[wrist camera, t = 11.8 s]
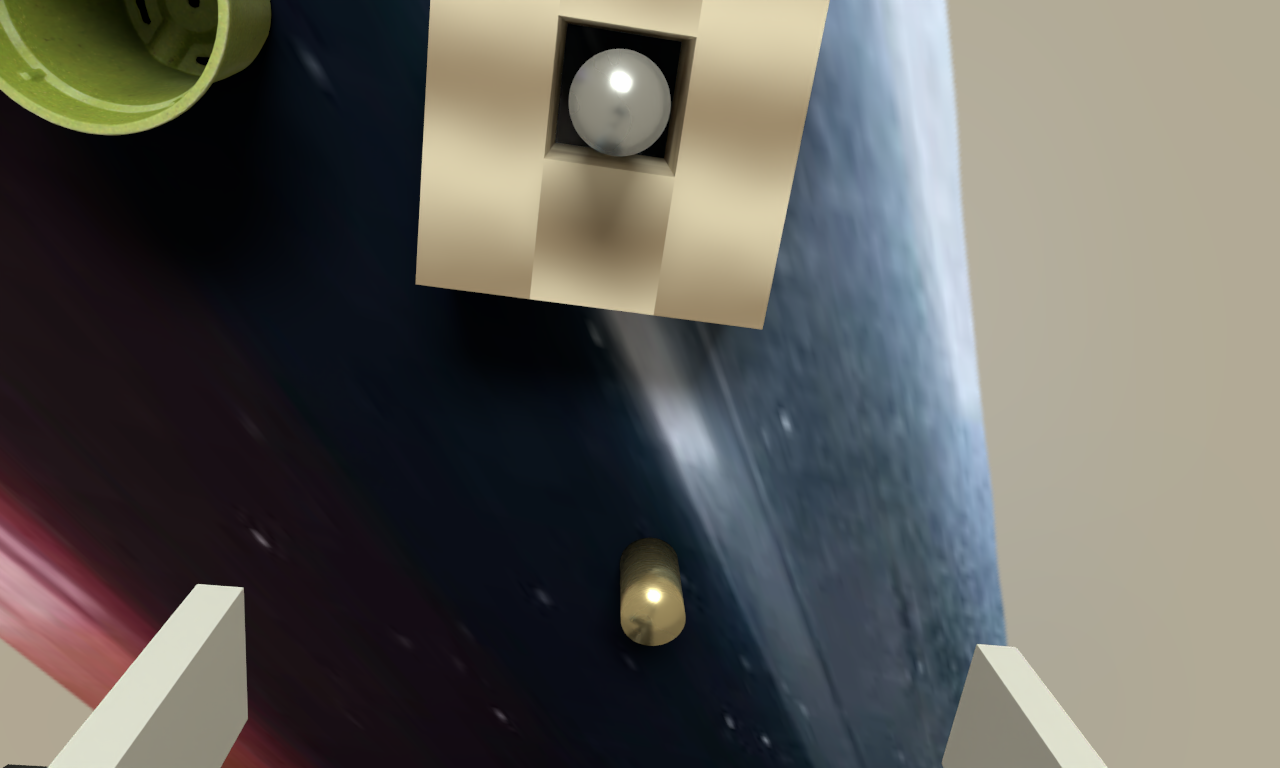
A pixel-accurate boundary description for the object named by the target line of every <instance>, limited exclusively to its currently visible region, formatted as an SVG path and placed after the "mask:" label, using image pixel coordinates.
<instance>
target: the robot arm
mask: <svg viewBox="0 0 1280 768" xmlns="http://www.w3.org/2000/svg"><path fill="white" fill-rule="evenodd" d="M247 719H248V711H247V679H246V647H245V616H244V588H242V587H229V586H216V585H203V584H197V585H196V586H195V588H194V589H193V590H192V591H191V592H190V594H189V595H188V596H187V597H186V599H185V600H184V601H183V602H182V603H181V605H180V606H179V607H178V608H177V610H176V611H175V612H174V613H173V615H172V616H171V617H170V618H169V619H168V621H167V622H166V623H165V624H164V626H163V627H162V628H161V629H160V630H159V632H158V633H157V634H156V635H155V637H154V638H153V639H152V640H151V641H150V643H149V644H148V645H147V646H146V648H145V649H144V650H143V651H142V653H141V654H140V655H139V656H138V657H137V659H136V660H135V661H134V662H133V664H132V665H131V666H130V667H129V668H128V670H127V671H126V672H125V673H124V675H123V676H122V677H121V678H120V679H119V681H118V682H117V683H116V684H115V686H114V687H113V688H112V689H111V691H110V692H109V693H108V694H107V695H106V697H105V698H104V699H103V700H102V702H101V703H100V704H99V705H98V706H97V708H96V709H95V710H94V711H93V713H92V714H91V715H90V716H89V717H88V719H87V720H86V721H85V722H84V724H83V725H82V726H81V727H80V729H79V730H78V731H77V732H76V734H75V735H74V736H73V737H72V738H71V740H70V741H69V742H68V743H67V744H66V746H65V747H64V748H63V749H62V751H61V752H60V753H59V754H58V755H57V757H56V758H55V759H54V761H53V762H52V763H51V764H50V765H49V767H43V766H26V765H9V764H8V765H7V766H5V767H3V768H220V767H221V766H222V764H223V762H224V760H225V758H226V757H227V755H228V753H229V751H230V750H231V748H232V746H233V744H234V742H235V741H236V739H237V737H238V735H239V733H240V732H241V730H242V728H243V726H244V724H245V723H246V721H247ZM942 765H943V767H944V768H1107V766H1106V765H1105V763H1104V762H1103V761H1102V759H1101V758H1100V757H1099V756H1098V755H1097V753H1096V752H1095V750H1094V749H1093V748H1092V746H1091V745H1090V744H1089V742H1088V741H1087V740H1086V739H1085V737H1084V736H1083V734H1082V733H1081V732H1080V731H1079V729H1078V728H1077V727H1076V725H1075V724H1074V723H1073V721H1072V720H1071V719H1070V717H1069V716H1068V715H1067V713H1066V712H1065V711H1064V709H1063V708H1062V707H1061V705H1060V704H1059V703H1058V701H1057V700H1056V699H1055V698H1054V696H1053V695H1052V694H1051V692H1050V691H1049V690H1048V688H1047V687H1046V686H1045V684H1044V683H1043V682H1042V680H1041V679H1040V678H1039V677H1038V675H1037V674H1036V673H1035V671H1034V670H1033V669H1032V667H1031V666H1030V665H1029V663H1028V662H1027V661H1026V659H1025V658H1024V657H1023V655H1022V654H1021V653H1020V651H1019V650H1018V649H1017V648H1016V647H1007V646H994V645H981V644H977V645H976V648H975V652H974V655H973V659H972V662H971V665H970V669H969V672H968V675H967V679H966V682H965V686H964V689H963V692H962V696H961V699H960V702H959V706H958V709H957V713H956V716H955V719H954V723H953V726H952V729H951V733H950V736H949V740H948V743H947V746H946V750H945V753H944V757H943V760H942Z"/></svg>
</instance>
